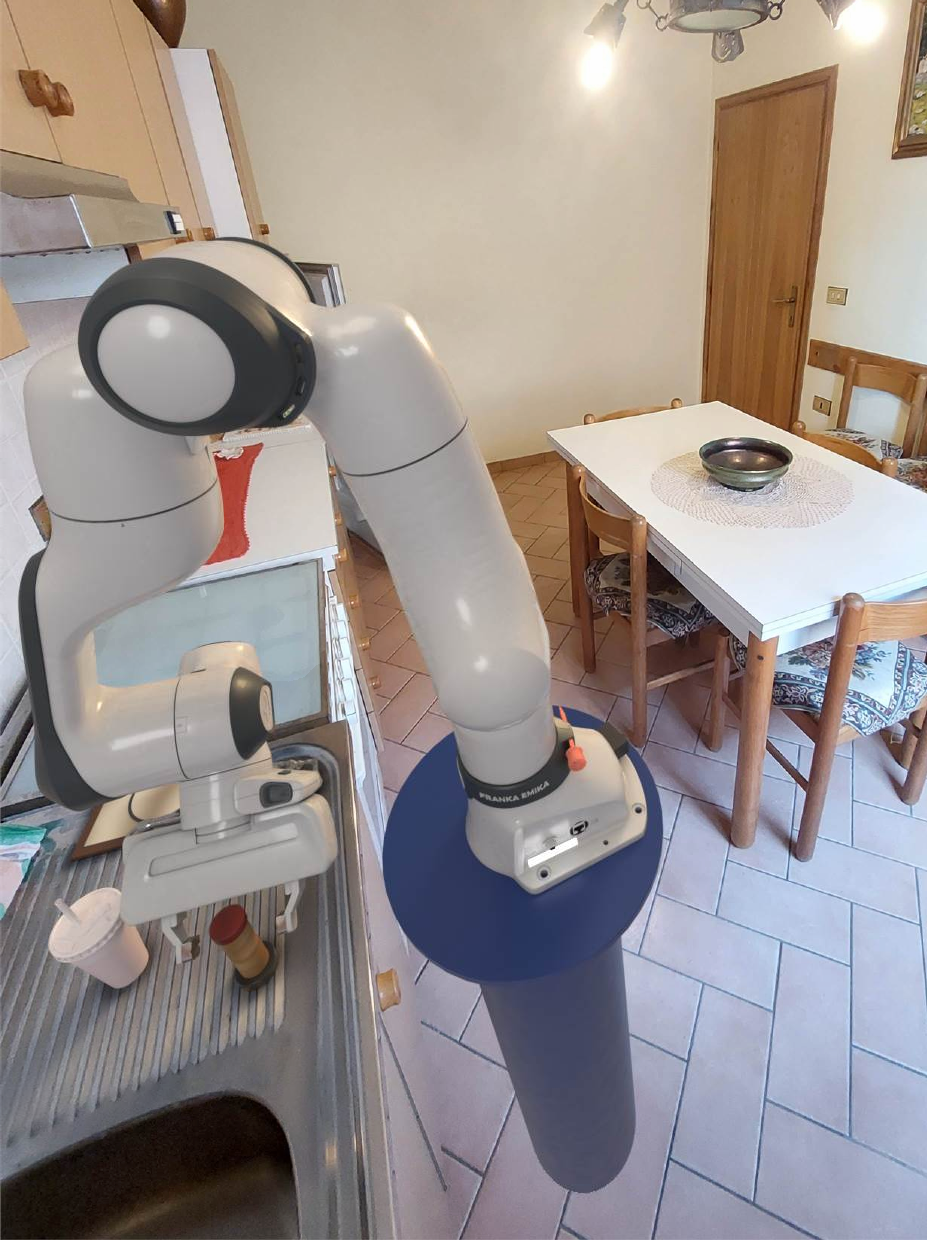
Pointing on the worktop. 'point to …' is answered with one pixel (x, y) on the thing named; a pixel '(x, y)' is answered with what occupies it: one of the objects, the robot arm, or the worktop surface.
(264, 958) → the stamp
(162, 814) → the drawing board
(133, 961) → the smoothie
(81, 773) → the robot arm
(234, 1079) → the worktop surface
